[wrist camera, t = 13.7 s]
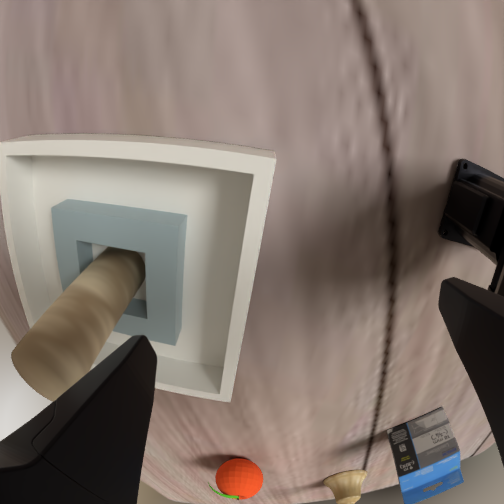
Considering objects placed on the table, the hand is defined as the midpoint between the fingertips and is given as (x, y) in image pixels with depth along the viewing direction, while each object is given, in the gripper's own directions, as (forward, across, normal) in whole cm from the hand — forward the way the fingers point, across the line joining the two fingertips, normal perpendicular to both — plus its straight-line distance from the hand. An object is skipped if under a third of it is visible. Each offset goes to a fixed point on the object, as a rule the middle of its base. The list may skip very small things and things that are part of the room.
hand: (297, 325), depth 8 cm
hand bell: (+13, -5, +52) cm, 54 cm away
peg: (+12, +12, +3) cm, 18 cm away
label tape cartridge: (+13, -15, +35) cm, 40 cm away
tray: (+13, +12, +2) cm, 18 cm away
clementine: (+13, +12, +37) cm, 41 cm away
